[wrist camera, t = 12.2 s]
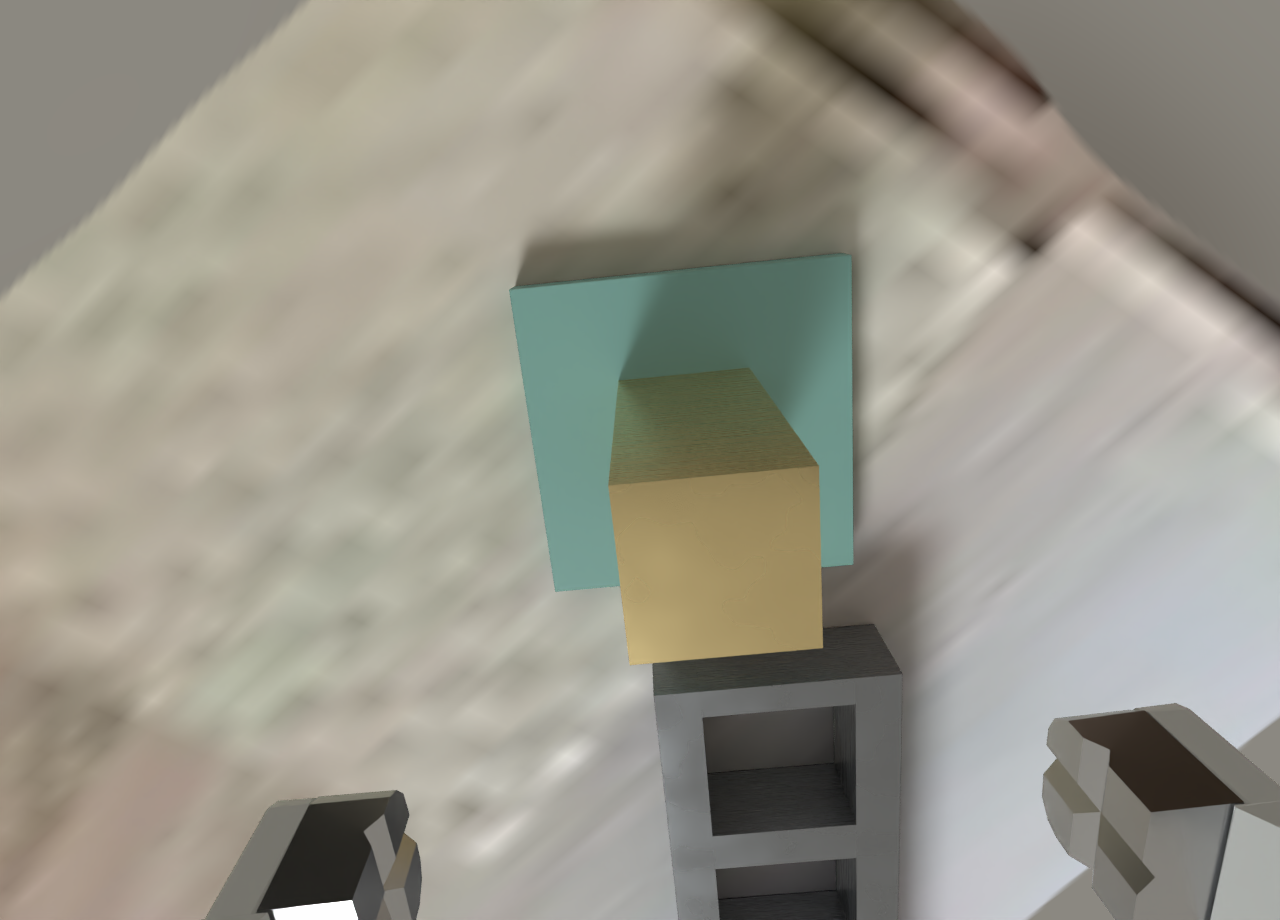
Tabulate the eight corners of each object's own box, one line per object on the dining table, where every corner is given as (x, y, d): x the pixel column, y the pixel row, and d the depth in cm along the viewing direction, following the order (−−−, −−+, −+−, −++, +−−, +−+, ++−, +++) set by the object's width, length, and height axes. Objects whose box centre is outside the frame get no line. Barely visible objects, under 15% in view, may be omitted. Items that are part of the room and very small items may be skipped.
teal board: (558, 577, 26) (555, 591, 25) (514, 286, 23) (509, 290, 22) (845, 551, 26) (853, 564, 25) (842, 252, 22) (851, 255, 21)
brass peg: (631, 501, 24) (629, 665, 15) (618, 380, 23) (607, 485, 14) (755, 489, 24) (823, 648, 15) (749, 367, 22) (818, 465, 14)
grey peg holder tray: (693, 1027, 33) (698, 1104, 30) (651, 644, 27) (653, 695, 24) (872, 1014, 33) (894, 1090, 30) (873, 623, 27) (902, 673, 24)
